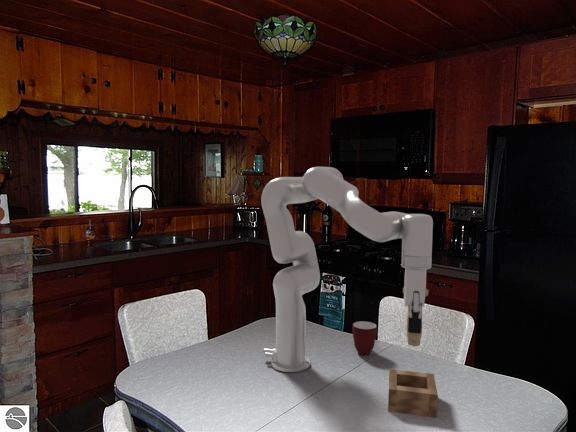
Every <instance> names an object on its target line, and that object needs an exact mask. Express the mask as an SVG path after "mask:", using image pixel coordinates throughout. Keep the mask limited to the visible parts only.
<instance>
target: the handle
mask: <svg viewBox="0 0 576 432" xmlns="http://www.w3.org/2000/svg"><path fill="white" fill-rule="evenodd" d="M402 293H403V295H404V287H402ZM427 296H429V289H428V288H426V290H425V298H426V297H427ZM413 297H414V292H413ZM412 306H414V304H412ZM412 310H413V308H412ZM409 317H410V306H408V305H407V315H406V337H407V344H408V346H412V347H419V346H420V345H421V339H422V333H423V307H422V308H421V318H422V319H421V333H420V334H419V333H409V332H408V319H409Z"/></svg>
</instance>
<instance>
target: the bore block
mask: <svg viewBox="0 0 576 432" xmlns="http://www.w3.org/2000/svg"><path fill="white" fill-rule="evenodd" d="M438 396H439V395H438V389H437V384H436V379H435V374H434V373H430V372H429V373H427V372H418V371H410V370H398V369H391V368H390V369H389V373H388V398H387V399H388V402H387V403H388V404H387V407H388V408H387V412H390V413H392V412H393V413H400V414H408V415H415V416H421V417H423V416H424V417H429V418H438Z"/></svg>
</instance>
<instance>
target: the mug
mask: <svg viewBox="0 0 576 432" xmlns="http://www.w3.org/2000/svg"><path fill="white" fill-rule="evenodd" d="M377 329H378V328H377V324H375V323H374V322H371V321H361V320H359V321H355V322H352V337H353V344H354V348H355V351H356V352H357V354H358V355H360V356H370V354H371V353H372V352H373V349H374V347H375V342H376V339H377V333H378V332H377Z"/></svg>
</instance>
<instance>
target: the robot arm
mask: <svg viewBox="0 0 576 432" xmlns="http://www.w3.org/2000/svg"><path fill="white" fill-rule="evenodd" d="M359 195H360V194H359V189H358V188H357V186H355V185H353V184H351V183H349V182H348V181H347V180H345V179H344V177H343V174H342V173H341V172H340V170H338V168H335V167H331V166H315V167H314V166H313V167H311V168H309V169H307V170H306V172H304V174H303V176H281V177H275V178H274V179H271V180H270V181H269V182H268V183H266V184H265V186H264V188H263V190H262V193H261V197H260V201H261V208H262V211H263V215H264V218H265V223H266V228H267V234H268V239H269V244H270V245H269V246H270V250H271V254H272V257H273V259H274V261H276V262H277V263H278V264H290V263H292V265H290V266H288V267H285V268H283V269H281V270H279V271H278V272H277V273H276V274H275V276H274V278H273V281H272V287H273V293H274V298H275V347H273V348H265V347H264V348H263V350H262V351H263V352H262V353H263V354H264V357H265V358H271V359H270V365H271V367H272V368H273V369H274V370H277V371H279V372H284V373H299V372H302V371H304V370H308V369H309V367H310V365H311V360H310V358H309V357H308V356H306V339H307V338H306V330H307V329H306V328H307V326H306V325H307V323H306V322H307V317H306V316H307V315H306V314H307V313H306V310H307V309H306V304H305V301H304V299H303V295H304V294H306V293H309V292H312V291H314V290H315V289H316V288H318V286H319V285H320V280H321V273H320V267H319V262H318V257H317V252H316V247H315V242H314V241H313V239H312V237H311V236H310V235H309V234H308V233H307V232H305V231H302V230H296V229H295V225H294V219H293V216H292V214H291V212H290V211H289V209H288V208H287V206H288V205H294V204H305V203H308V202H312V201H316V200H320V201H322V202H323V203H325V204H326V205H328V206H329V207H331V209H334V210H336V211H337V212H338V213H340V215H341V217H342V218H343V219H344V221H345V222H346V223H347V224H348V225H349V226H350V227H351V228H352V229H354V230H355V231H357V232H358V233H360V234H361V235H363V236H364V237H366V238H368V239H370V240H371V241H374V242H378V243H385V242H389V241H392V240H397V239H401V268H404V269H405V270H404V283H403V284H404V286H403V288H404V294H403V304H404V306H405V307H406V308H408V306H410V317H409V319H408V332H409V333H419V334H420V333H421V319H422V320H423V317H422V318H421V308H422V309H423V308H424V306H425V300H426V297H425V290H426V289H427V270H430V269H432V262H433V260H432V257H433V256H432V255H433V254H432V253H433V230H434V229H433V228H434V221H433V218H432V216H431V215H429V214H425V213H405V212H400V211H394V210H393V211H387V212H385V211H384V212H379V211H378V210H376V209H375V208H373V207H371V206H369V205H368V204H367V203H365V202H364V201H363V200H362V199H360V197H359ZM413 292H414V297H413ZM412 304H414V306H412ZM412 308H413V310H412Z"/></svg>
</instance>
